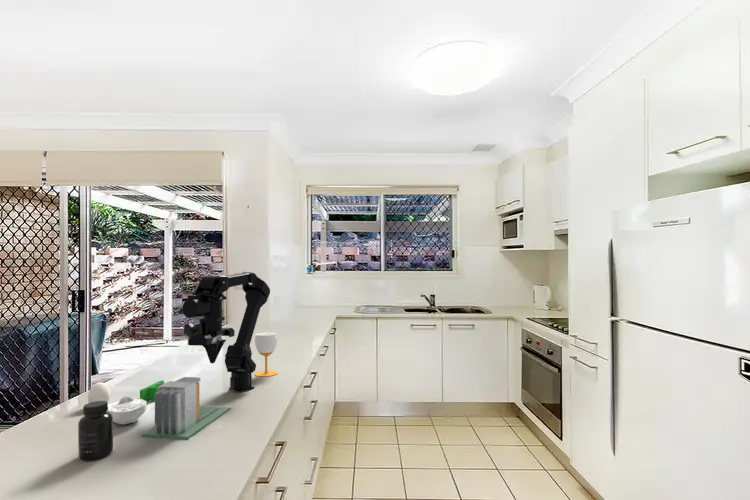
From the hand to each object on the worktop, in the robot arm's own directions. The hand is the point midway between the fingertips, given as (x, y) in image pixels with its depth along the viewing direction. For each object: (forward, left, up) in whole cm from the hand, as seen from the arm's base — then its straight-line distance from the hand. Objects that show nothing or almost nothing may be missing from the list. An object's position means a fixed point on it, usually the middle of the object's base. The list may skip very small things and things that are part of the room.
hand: (212, 363), depth 136 cm
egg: (+24, -25, -13) cm, 37 cm away
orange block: (+13, +11, -12) cm, 21 cm away
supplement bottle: (+37, +13, -13) cm, 41 cm away
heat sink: (+13, +10, -13) cm, 21 cm away
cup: (-32, -15, -13) cm, 38 cm away
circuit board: (+13, +10, -13) cm, 21 cm away
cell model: (+24, -4, -13) cm, 28 cm away
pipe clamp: (+9, -19, -13) cm, 25 cm away
